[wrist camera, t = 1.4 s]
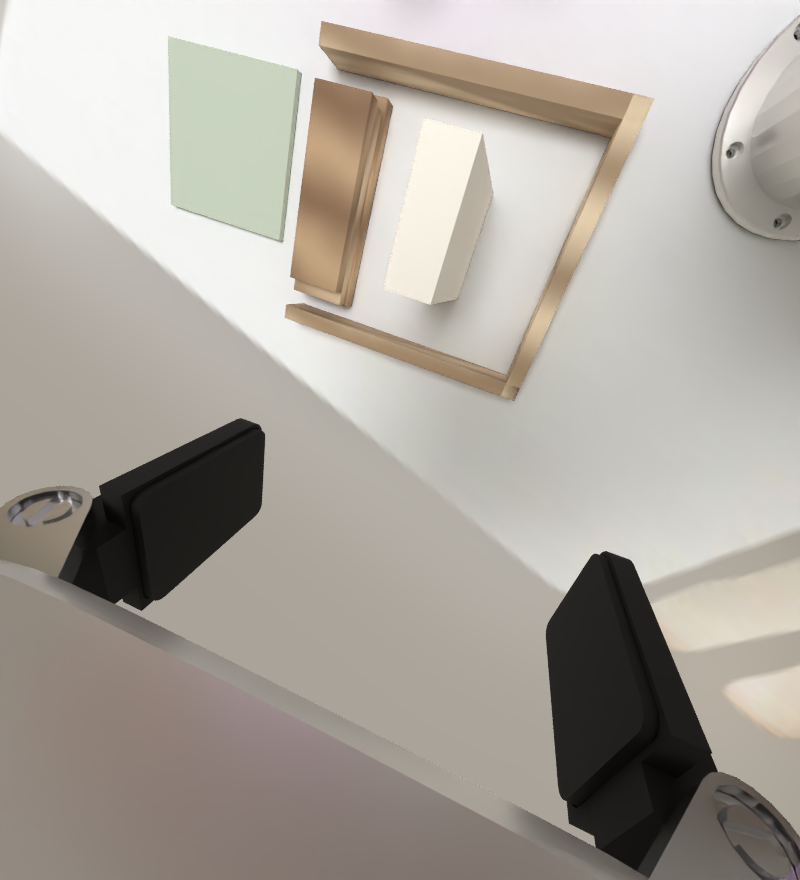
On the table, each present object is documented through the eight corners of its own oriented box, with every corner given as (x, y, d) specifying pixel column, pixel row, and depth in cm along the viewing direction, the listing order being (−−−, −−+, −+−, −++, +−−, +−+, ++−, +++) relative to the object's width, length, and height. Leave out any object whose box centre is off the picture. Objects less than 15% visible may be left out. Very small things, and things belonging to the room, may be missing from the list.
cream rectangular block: (456, 182, 28) (423, 117, 17) (493, 193, 27) (482, 133, 17) (425, 288, 31) (382, 288, 21) (457, 299, 31) (430, 304, 20)
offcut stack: (336, 91, 28) (313, 65, 25) (392, 106, 27) (377, 81, 24) (307, 290, 34) (286, 290, 31) (351, 305, 34) (335, 307, 31)
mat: (174, 41, 29) (168, 36, 29) (301, 73, 28) (297, 69, 27) (176, 205, 35) (170, 204, 34) (282, 241, 33) (279, 240, 33)
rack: (340, 47, 27) (321, 21, 24) (638, 119, 24) (654, 98, 21) (301, 315, 36) (284, 317, 33) (513, 392, 33) (514, 401, 30)
